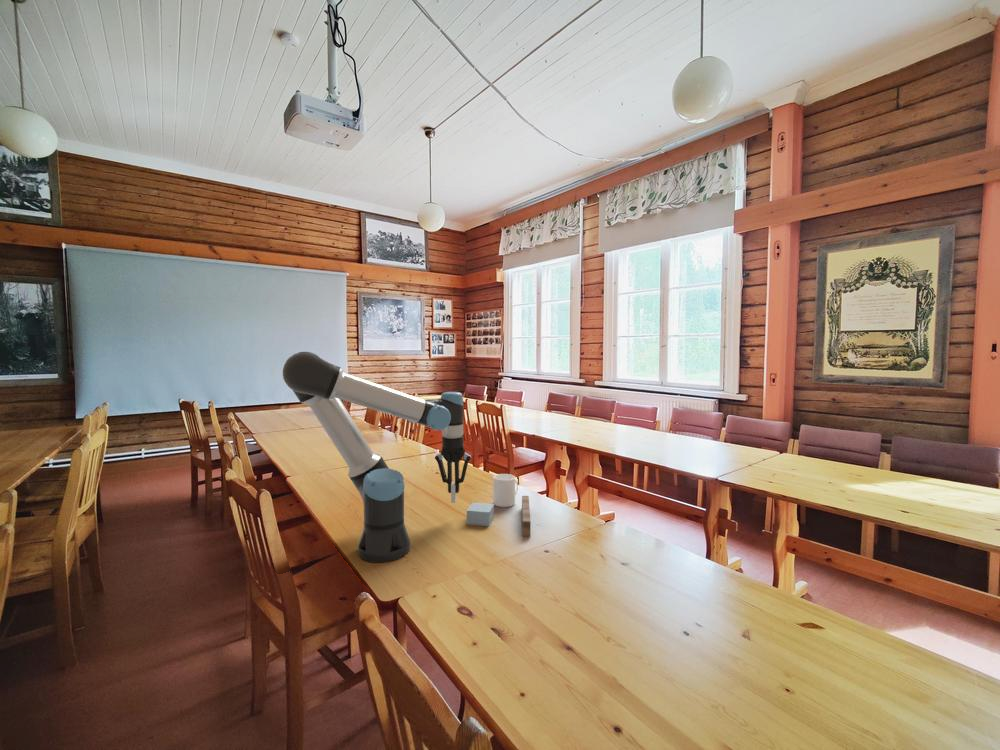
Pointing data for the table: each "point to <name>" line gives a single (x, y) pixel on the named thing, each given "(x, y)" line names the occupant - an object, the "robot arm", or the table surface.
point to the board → (525, 516)
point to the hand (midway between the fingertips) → (453, 501)
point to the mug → (504, 490)
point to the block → (480, 514)
